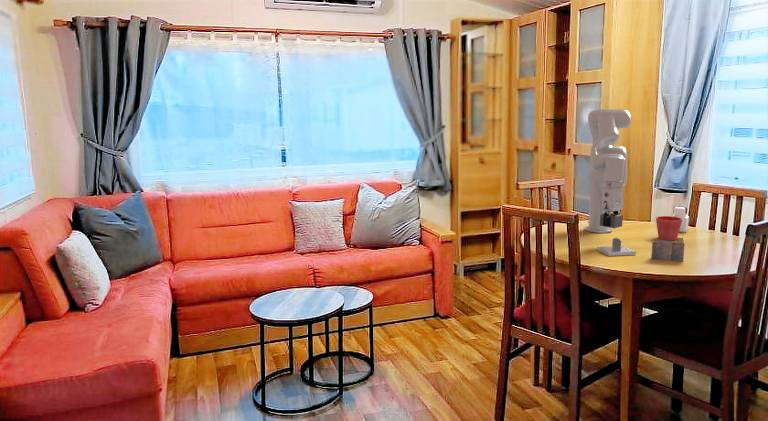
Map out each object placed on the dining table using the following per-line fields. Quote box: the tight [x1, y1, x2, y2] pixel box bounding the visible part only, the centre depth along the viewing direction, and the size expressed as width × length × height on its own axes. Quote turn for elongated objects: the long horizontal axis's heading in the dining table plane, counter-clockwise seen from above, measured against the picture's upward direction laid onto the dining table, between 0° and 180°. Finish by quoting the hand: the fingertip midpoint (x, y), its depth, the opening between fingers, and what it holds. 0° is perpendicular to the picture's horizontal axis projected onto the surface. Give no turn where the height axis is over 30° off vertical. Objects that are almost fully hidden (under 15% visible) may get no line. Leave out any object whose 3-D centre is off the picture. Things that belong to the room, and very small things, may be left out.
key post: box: [596, 237, 637, 257], centre depth 242 cm, size 10×12×6 cm
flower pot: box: [655, 215, 682, 241], centre depth 267 cm, size 11×11×10 cm
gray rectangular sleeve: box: [600, 212, 624, 229], centre depth 252 cm, size 7×6×5 cm
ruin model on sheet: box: [650, 236, 686, 262], centre depth 230 cm, size 11×3×10 cm, turn 72°
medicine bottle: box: [671, 205, 690, 233], centre depth 284 cm, size 7×7×12 cm
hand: (610, 224), depth 253 cm, fingers closed on gray rectangular sleeve, 6 cm apart
